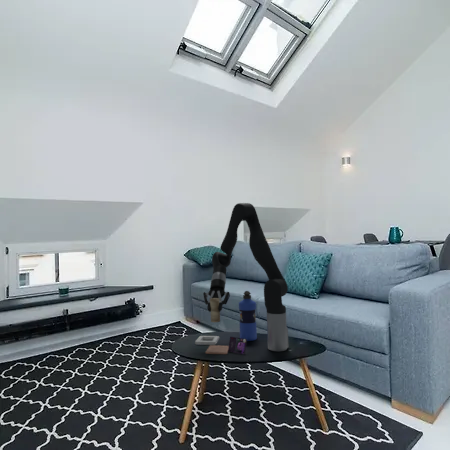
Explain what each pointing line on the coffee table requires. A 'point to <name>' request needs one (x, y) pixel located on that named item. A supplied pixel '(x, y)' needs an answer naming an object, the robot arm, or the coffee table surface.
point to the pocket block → (213, 342)
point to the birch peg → (214, 310)
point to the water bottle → (247, 317)
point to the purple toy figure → (240, 345)
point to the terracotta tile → (217, 349)
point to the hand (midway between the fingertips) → (214, 310)
